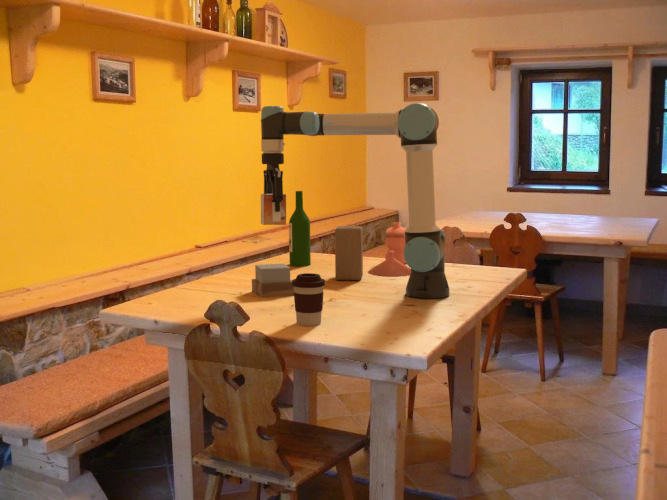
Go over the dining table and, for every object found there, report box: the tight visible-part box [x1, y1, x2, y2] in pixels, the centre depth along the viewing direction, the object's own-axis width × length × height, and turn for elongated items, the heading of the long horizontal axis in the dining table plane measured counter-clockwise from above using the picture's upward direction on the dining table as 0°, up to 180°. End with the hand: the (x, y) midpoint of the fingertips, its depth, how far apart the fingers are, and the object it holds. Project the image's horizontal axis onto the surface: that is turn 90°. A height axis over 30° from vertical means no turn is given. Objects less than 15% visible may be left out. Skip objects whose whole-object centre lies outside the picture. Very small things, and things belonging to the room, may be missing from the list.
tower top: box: [254, 263, 291, 284], centre depth 254 cm, size 10×10×5 cm
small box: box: [260, 193, 287, 226], centre depth 252 cm, size 8×6×10 cm
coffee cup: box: [291, 272, 326, 327], centre depth 221 cm, size 10×10×15 cm
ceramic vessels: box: [367, 221, 411, 278], centre depth 303 cm, size 35×21×19 cm, turn 169°
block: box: [334, 225, 364, 281], centre depth 284 cm, size 10×10×20 cm
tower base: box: [251, 278, 294, 299], centre depth 255 cm, size 12×12×5 cm
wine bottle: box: [288, 190, 312, 268], centre depth 313 cm, size 9×9×32 cm
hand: (273, 220), depth 253 cm, fingers closed on small box, 6 cm apart
